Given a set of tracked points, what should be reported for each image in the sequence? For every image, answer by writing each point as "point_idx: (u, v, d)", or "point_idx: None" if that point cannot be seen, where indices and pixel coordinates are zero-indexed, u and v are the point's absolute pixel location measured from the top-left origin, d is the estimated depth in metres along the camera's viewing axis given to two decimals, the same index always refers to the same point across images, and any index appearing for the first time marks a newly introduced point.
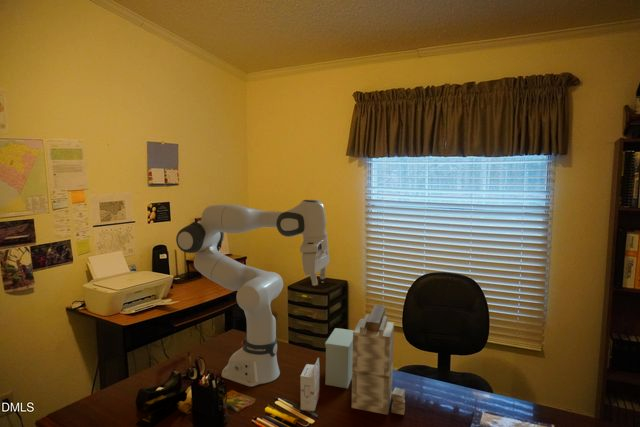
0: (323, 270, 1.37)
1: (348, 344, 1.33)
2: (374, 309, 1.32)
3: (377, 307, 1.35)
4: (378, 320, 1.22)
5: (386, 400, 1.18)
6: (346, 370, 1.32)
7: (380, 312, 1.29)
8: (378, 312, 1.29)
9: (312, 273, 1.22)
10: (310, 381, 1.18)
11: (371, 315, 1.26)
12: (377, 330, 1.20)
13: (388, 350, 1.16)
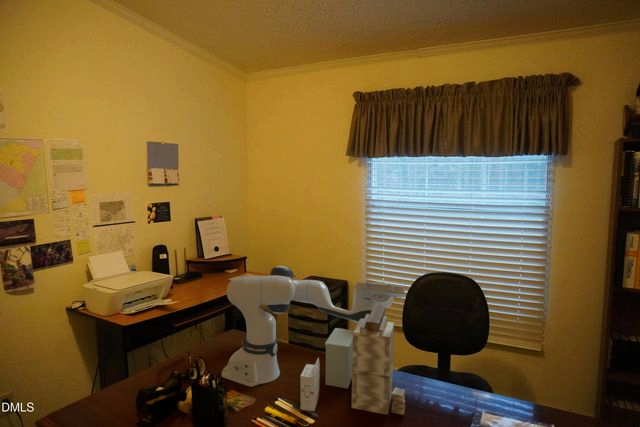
0: None
1: (348, 344, 1.33)
2: (374, 309, 1.32)
3: (377, 307, 1.35)
4: (378, 320, 1.22)
5: (386, 400, 1.18)
6: (346, 370, 1.32)
7: (380, 312, 1.29)
8: (378, 312, 1.29)
9: (356, 283, 1.53)
10: (310, 381, 1.18)
11: (371, 315, 1.26)
12: (377, 330, 1.20)
13: (388, 350, 1.16)
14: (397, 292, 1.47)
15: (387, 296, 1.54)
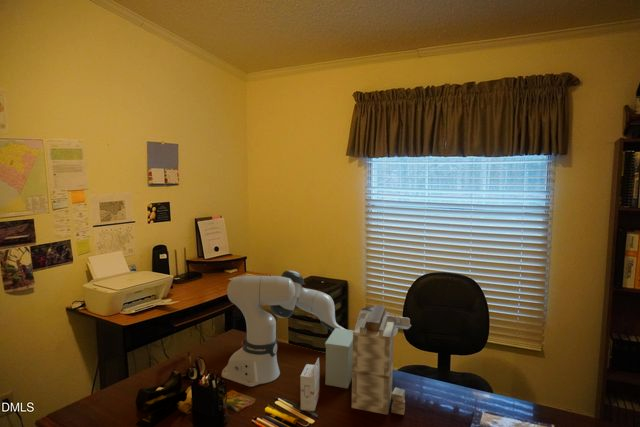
0: None
1: (348, 344, 1.33)
2: (374, 309, 1.32)
3: (377, 307, 1.35)
4: (378, 320, 1.22)
5: (386, 400, 1.18)
6: (346, 370, 1.32)
7: (380, 312, 1.29)
8: (378, 312, 1.29)
9: (360, 313, 1.49)
10: (310, 381, 1.18)
11: (371, 315, 1.26)
12: (377, 330, 1.20)
13: (388, 350, 1.16)
14: (402, 324, 1.43)
15: None
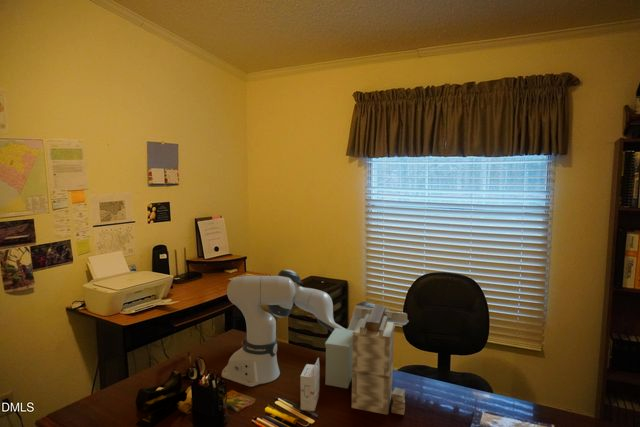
0: None
1: (348, 344, 1.33)
2: (374, 309, 1.32)
3: (377, 307, 1.35)
4: (378, 320, 1.22)
5: (386, 400, 1.18)
6: (346, 370, 1.32)
7: (380, 312, 1.29)
8: (378, 312, 1.29)
9: (354, 308, 1.41)
10: (310, 381, 1.18)
11: (371, 315, 1.26)
12: (377, 330, 1.20)
13: (388, 350, 1.16)
14: (399, 320, 1.34)
15: None
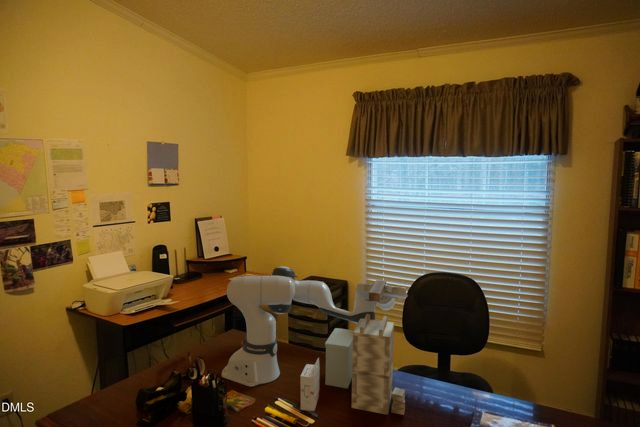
0: None
1: (348, 344, 1.33)
2: (376, 283, 1.44)
3: (378, 281, 1.46)
4: (379, 291, 1.33)
5: (386, 400, 1.18)
6: (346, 370, 1.32)
7: (381, 285, 1.40)
8: (379, 286, 1.40)
9: (357, 284, 1.52)
10: (310, 381, 1.18)
11: (373, 287, 1.37)
12: (378, 300, 1.31)
13: (388, 350, 1.16)
14: (399, 293, 1.45)
15: (389, 297, 1.52)
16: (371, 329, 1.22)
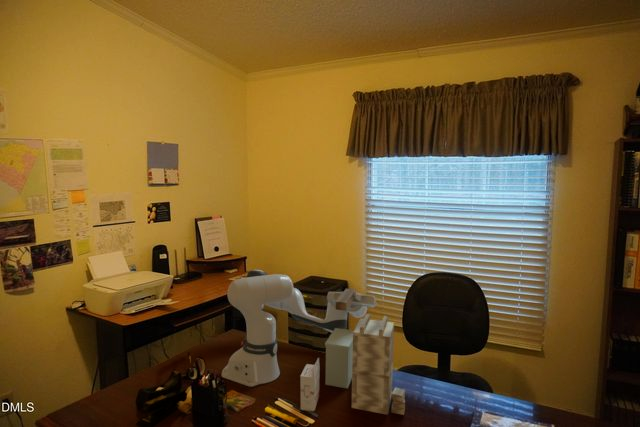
0: None
1: (348, 344, 1.33)
2: (344, 292, 1.46)
3: (347, 290, 1.49)
4: (346, 300, 1.36)
5: (386, 400, 1.18)
6: (346, 370, 1.32)
7: (350, 294, 1.43)
8: (347, 295, 1.43)
9: (328, 293, 1.54)
10: (310, 381, 1.18)
11: (341, 296, 1.40)
12: (345, 309, 1.34)
13: (388, 350, 1.16)
14: (367, 302, 1.48)
15: (359, 306, 1.55)
16: (371, 329, 1.22)
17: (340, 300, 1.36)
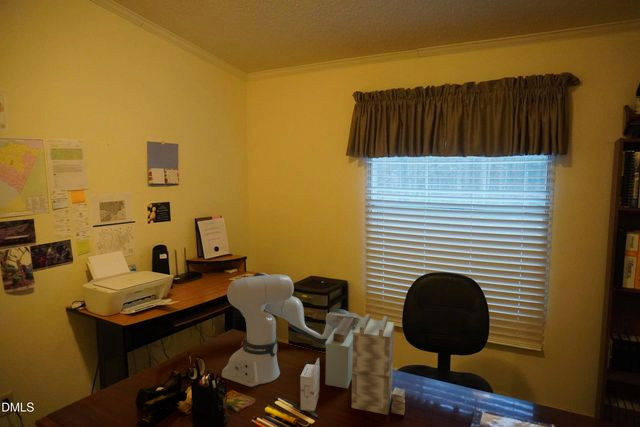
0: None
1: (348, 344, 1.33)
2: (343, 321, 1.47)
3: (345, 319, 1.49)
4: (344, 332, 1.36)
5: (386, 400, 1.18)
6: (346, 370, 1.32)
7: (348, 324, 1.44)
8: (345, 325, 1.43)
9: None
10: (310, 381, 1.18)
11: (339, 327, 1.41)
12: (342, 341, 1.34)
13: (388, 350, 1.16)
14: None
15: None
16: (371, 329, 1.22)
17: (338, 331, 1.37)
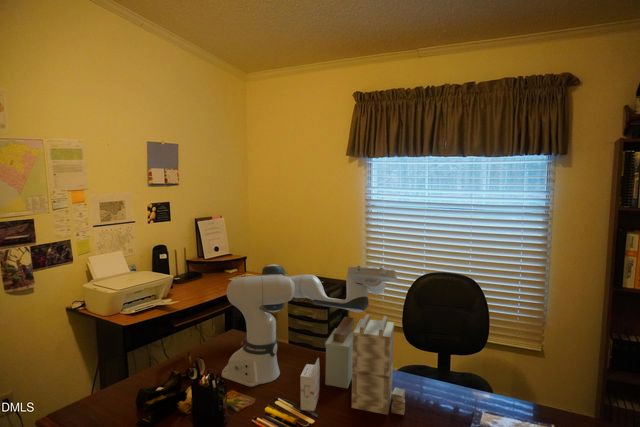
0: None
1: (348, 344, 1.33)
2: (343, 321, 1.47)
3: (345, 319, 1.49)
4: (344, 332, 1.36)
5: (386, 400, 1.18)
6: (346, 370, 1.32)
7: (348, 324, 1.44)
8: (345, 325, 1.43)
9: (348, 267, 1.56)
10: (310, 381, 1.18)
11: (339, 327, 1.41)
12: (342, 341, 1.34)
13: (388, 350, 1.16)
14: (388, 275, 1.49)
15: (379, 280, 1.56)
16: (371, 329, 1.22)
17: (338, 331, 1.37)
